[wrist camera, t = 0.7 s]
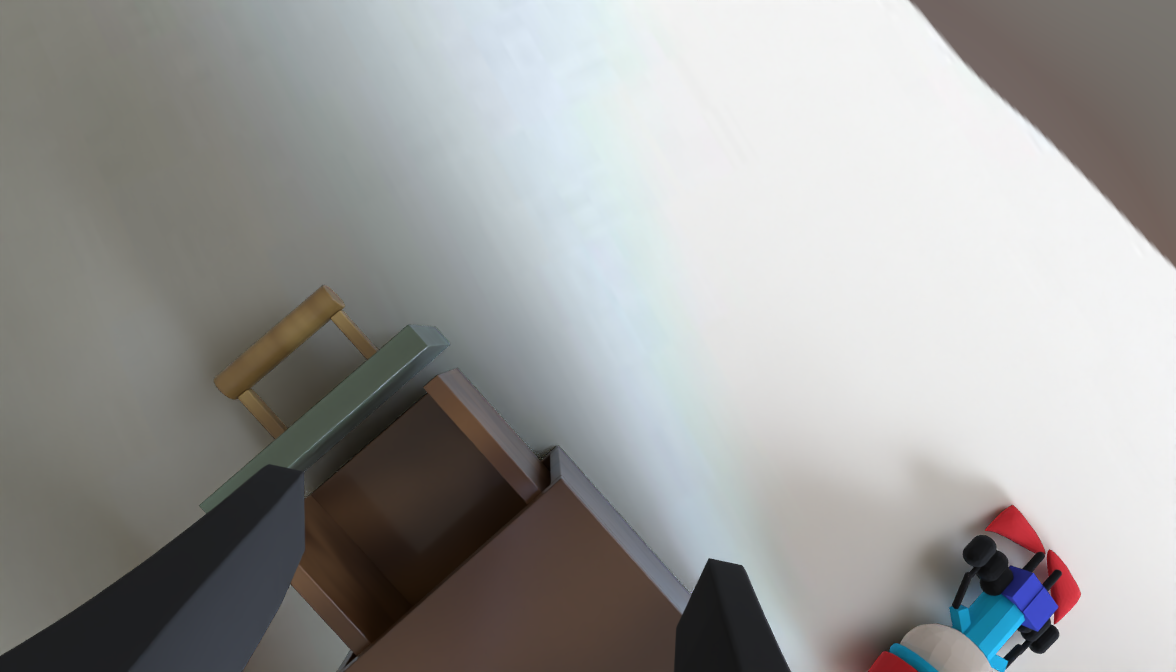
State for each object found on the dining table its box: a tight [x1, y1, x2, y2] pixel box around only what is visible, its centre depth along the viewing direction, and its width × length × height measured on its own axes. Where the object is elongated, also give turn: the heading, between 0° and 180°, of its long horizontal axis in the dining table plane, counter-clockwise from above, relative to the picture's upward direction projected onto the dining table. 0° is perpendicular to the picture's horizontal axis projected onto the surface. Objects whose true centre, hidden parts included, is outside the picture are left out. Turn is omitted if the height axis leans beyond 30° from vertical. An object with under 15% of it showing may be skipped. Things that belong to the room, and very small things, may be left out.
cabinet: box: [337, 446, 691, 672], centre depth 31 cm, size 14×12×8 cm
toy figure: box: [868, 505, 1081, 672], centre depth 35 cm, size 8×5×15 cm
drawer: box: [199, 285, 551, 656], centre depth 31 cm, size 17×11×7 cm, turn 41°
